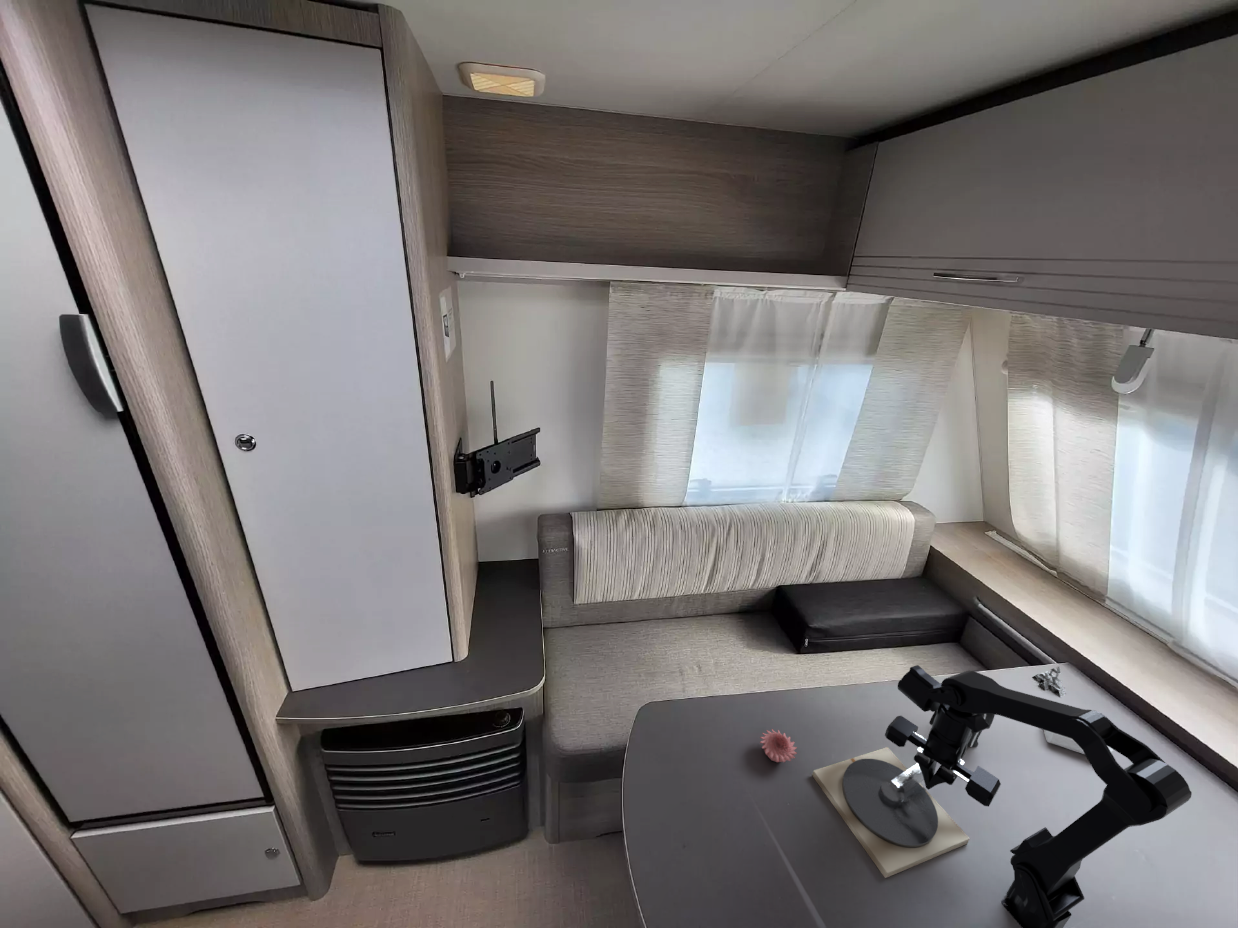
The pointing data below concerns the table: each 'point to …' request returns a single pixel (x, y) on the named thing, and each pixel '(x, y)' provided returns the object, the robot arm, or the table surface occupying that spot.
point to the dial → (890, 802)
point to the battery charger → (975, 736)
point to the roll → (1064, 742)
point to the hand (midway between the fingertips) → (928, 787)
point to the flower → (778, 746)
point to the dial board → (880, 851)
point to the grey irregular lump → (1052, 681)
